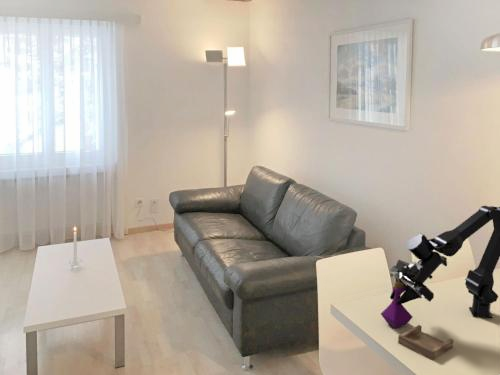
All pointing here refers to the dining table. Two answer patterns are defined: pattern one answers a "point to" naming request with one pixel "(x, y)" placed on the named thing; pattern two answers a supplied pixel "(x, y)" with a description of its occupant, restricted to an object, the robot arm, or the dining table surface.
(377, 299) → the dining table surface
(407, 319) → the perfume bottle
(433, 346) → the wooden tray
